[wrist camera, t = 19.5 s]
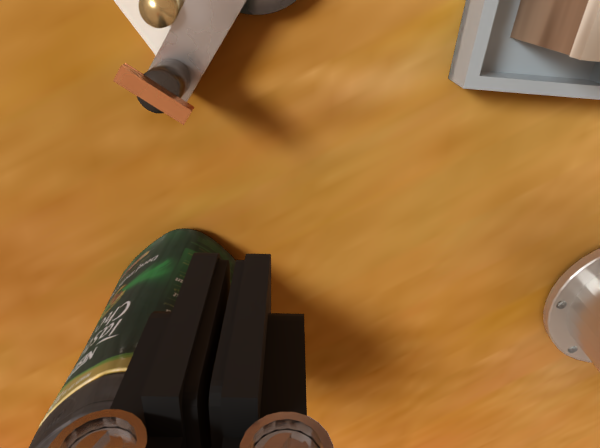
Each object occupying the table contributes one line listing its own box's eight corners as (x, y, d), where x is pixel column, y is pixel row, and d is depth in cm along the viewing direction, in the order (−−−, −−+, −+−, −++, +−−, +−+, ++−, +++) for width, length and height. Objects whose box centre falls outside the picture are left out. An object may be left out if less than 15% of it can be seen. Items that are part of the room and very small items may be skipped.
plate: (173, -61, 27) (172, -61, 27) (226, 18, 29) (225, 18, 29) (109, -8, 28) (107, -8, 28) (164, 64, 30) (163, 65, 30)
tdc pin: (183, -12, 28) (174, -10, 26) (184, 24, 29) (175, 29, 27) (149, -15, 28) (137, -13, 26) (151, 22, 29) (139, 26, 27)
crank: (236, -117, 25) (224, -140, 20) (298, -66, 26) (302, -75, 21) (138, 70, 29) (107, 91, 24) (195, 106, 30) (177, 134, 25)
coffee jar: (183, 206, 35) (95, 411, 19) (258, 270, 38) (237, 495, 22) (104, 280, 38) (-31, 511, 22) (179, 334, 41) (110, 574, 25)
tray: (652, -81, 27) (691, -86, 25) (589, 90, 32) (616, 101, 29) (488, -99, 27) (510, -107, 24) (448, 78, 31) (463, 88, 29)
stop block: (597, -30, 28) (704, -29, 21) (571, 44, 30) (661, 67, 23) (530, -37, 28) (615, -39, 20) (508, 38, 29) (580, 60, 22)
